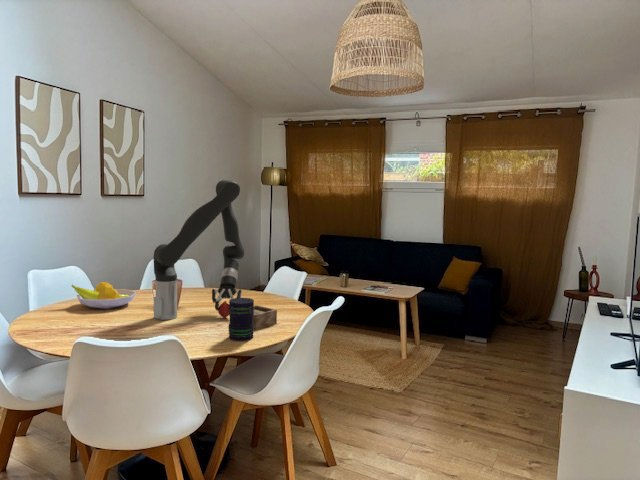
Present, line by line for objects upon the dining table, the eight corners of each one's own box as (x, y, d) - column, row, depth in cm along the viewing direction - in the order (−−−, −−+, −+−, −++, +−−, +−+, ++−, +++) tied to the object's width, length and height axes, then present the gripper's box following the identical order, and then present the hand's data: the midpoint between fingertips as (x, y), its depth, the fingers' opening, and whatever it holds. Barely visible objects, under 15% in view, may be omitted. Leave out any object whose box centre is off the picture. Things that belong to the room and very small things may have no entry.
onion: (220, 320, 207) (220, 302, 206) (216, 317, 212) (216, 300, 211) (232, 319, 209) (232, 301, 209) (229, 315, 214) (229, 299, 214)
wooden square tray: (255, 330, 194) (255, 315, 193) (234, 324, 201) (234, 310, 201) (276, 324, 204) (276, 309, 203) (255, 318, 212) (256, 305, 211)
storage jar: (226, 341, 177) (226, 303, 176) (230, 333, 187) (230, 297, 186) (252, 341, 178) (253, 303, 176) (254, 333, 187) (255, 297, 186)
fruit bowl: (143, 300, 242) (143, 278, 241) (122, 312, 215) (122, 289, 214) (89, 299, 241) (89, 277, 240) (62, 311, 214) (61, 287, 213)
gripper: (212, 274, 216) (206, 305, 205) (243, 275, 216) (239, 305, 206) (215, 283, 222) (209, 313, 211) (244, 284, 222) (240, 314, 211)
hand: (224, 309), depth 208 cm, fingers closed on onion, 5 cm apart
